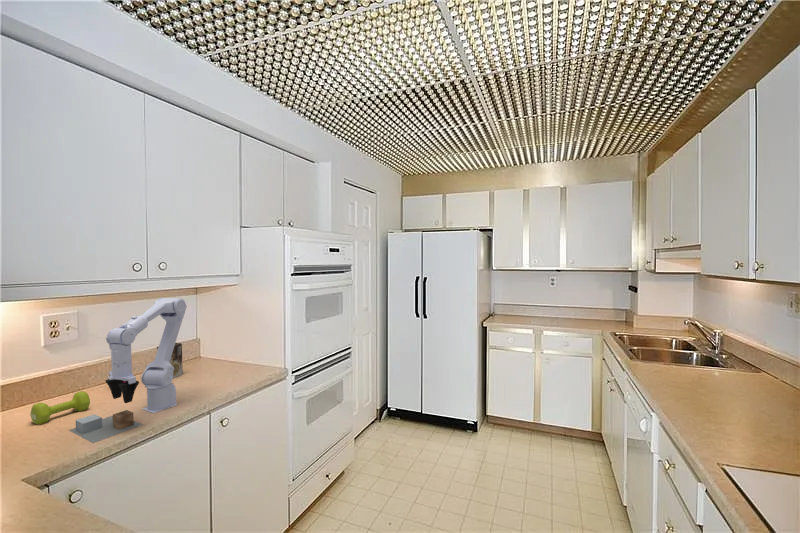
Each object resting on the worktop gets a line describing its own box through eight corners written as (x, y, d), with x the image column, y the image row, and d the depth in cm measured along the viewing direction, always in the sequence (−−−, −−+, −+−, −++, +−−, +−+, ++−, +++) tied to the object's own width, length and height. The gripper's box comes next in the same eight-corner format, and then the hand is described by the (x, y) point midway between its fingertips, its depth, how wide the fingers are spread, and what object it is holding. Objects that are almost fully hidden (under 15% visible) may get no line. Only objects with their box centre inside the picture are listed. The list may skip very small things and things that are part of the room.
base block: (94, 423, 136) (94, 414, 136) (102, 427, 134) (101, 417, 134) (75, 430, 132) (75, 420, 132) (83, 433, 129) (82, 423, 129)
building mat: (117, 414, 145) (117, 413, 145) (143, 425, 136) (143, 424, 136) (68, 431, 132) (68, 430, 132) (93, 444, 123) (93, 443, 123)
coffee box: (172, 373, 194) (172, 342, 193) (183, 374, 192) (182, 342, 191) (157, 379, 185) (156, 346, 184) (168, 380, 183) (167, 347, 183)
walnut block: (127, 422, 138) (126, 409, 138) (133, 424, 136) (133, 412, 136) (112, 427, 134) (112, 414, 134) (119, 430, 132) (119, 417, 132)
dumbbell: (82, 406, 153) (81, 389, 152) (92, 410, 149) (92, 392, 149) (28, 423, 138) (27, 403, 138) (38, 427, 134) (37, 407, 134)
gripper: (98, 361, 134) (99, 399, 135) (119, 368, 127) (120, 408, 127) (120, 357, 140) (121, 393, 141) (142, 362, 133) (143, 401, 134)
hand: (122, 400), depth 134 cm, fingers open, 7 cm apart
